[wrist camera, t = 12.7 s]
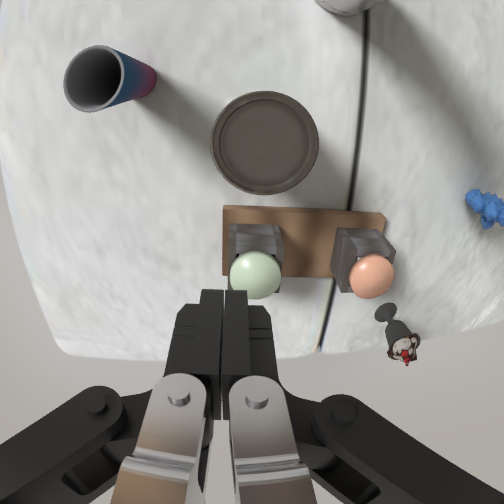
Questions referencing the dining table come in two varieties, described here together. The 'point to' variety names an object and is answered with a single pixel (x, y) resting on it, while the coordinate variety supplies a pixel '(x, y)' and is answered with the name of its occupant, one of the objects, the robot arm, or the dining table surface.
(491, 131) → the dining table surface
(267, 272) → the button
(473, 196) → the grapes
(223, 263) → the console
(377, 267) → the button
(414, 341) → the sundae
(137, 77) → the cup
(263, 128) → the coffee can
